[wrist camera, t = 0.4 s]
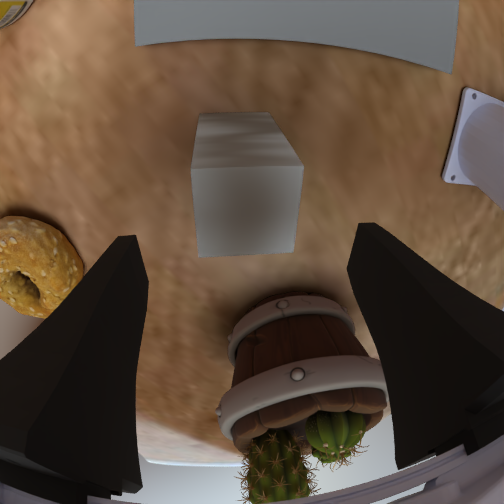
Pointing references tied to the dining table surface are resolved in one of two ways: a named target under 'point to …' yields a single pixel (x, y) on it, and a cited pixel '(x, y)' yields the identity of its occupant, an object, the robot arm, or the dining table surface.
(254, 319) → the flowerpot
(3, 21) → the supplement bottle
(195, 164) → the peg
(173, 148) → the dining table surface
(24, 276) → the bagel
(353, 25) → the socket board
